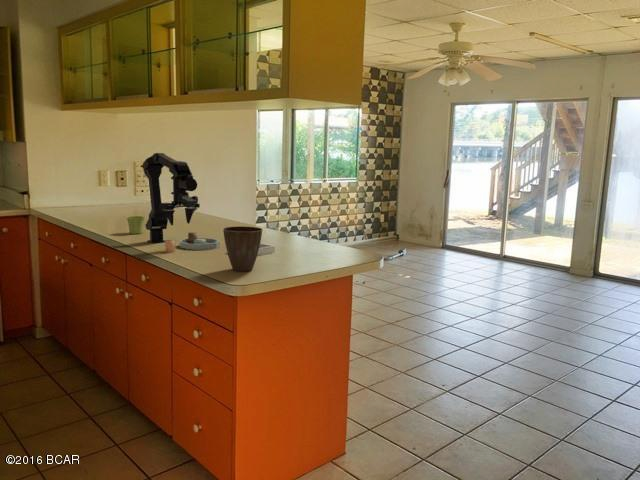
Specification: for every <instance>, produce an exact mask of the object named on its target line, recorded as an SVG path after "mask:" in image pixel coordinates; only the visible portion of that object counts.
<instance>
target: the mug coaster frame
mask: <svg viewBox="0 0 640 480" xmlns="http://www.w3.org/2000/svg"><path fill="white" fill-rule="evenodd" d="M275 248H276V246H275V245H272V244H266V243H261V242H260V247H259V251H258V254H257V257H258V256H263V255H270V254H275V250H276V249H275Z"/></svg>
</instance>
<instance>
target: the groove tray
mask: <svg viewBox="0 0 640 480" xmlns="http://www.w3.org/2000/svg"><path fill="white" fill-rule="evenodd" d="M220 242H221V241H220V240H219V239H216V238H212V237H197V239H194V244H190V243H188V238H183V239H181V240H179V248H181V249H183V248H185V249H184V250H190V249H191V251H194V250H195V251H208V250H207V249H209V250H215V249H218V248H220V246H221V244H220Z"/></svg>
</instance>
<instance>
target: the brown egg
mask: <svg viewBox="0 0 640 480" xmlns="http://www.w3.org/2000/svg"><path fill="white" fill-rule="evenodd" d="M175 243H176V242H175V240H174V239H166V240H165V242H164V244H165V246H164V247H165V248H164V249H165V251H164V252H165V253H168V254H169V253H175V251H176V247H175Z"/></svg>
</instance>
